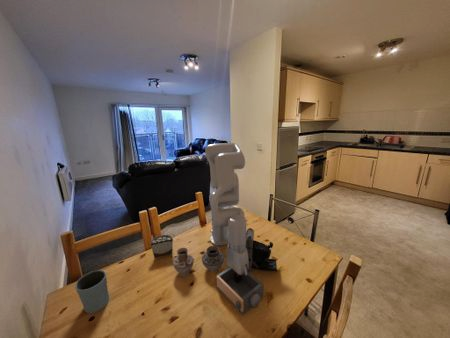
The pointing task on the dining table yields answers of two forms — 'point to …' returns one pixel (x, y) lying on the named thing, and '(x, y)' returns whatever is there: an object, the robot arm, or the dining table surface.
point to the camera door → (230, 294)
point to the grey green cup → (93, 291)
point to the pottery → (210, 260)
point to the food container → (162, 246)
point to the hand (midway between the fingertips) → (237, 280)
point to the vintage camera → (259, 254)
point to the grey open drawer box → (243, 288)
